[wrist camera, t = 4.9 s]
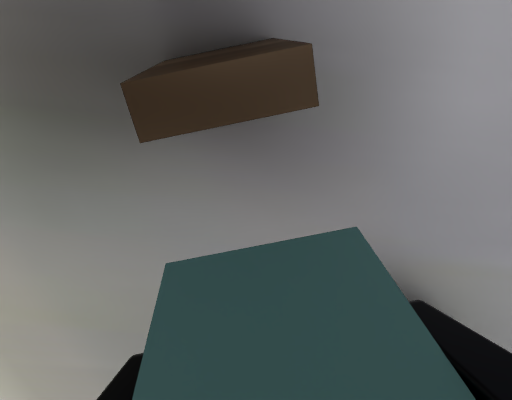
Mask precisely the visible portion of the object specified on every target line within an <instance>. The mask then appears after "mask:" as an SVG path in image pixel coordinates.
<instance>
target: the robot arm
mask: <svg viewBox="0 0 512 400" xmlns="http://www.w3.org/2000/svg"><path fill="white" fill-rule="evenodd" d="M409 303H410V305H411V306H412V308H413V309H414V311H415V312H416V313H417V315H418V316H419V318H420V319H421V321H422V322H423V324H424V325H425V327H426V328H427V329H428V331H429V332H430V334H431V335H432V337H433V338H434V340H435V341H436V343H437V344H438V345H439V347H440V348H441V350H442V352H443V353H444V355H445V356H446V358H447V359H448V360H449V361H450V363H451V364H452V366H453V367H454V369H455V370H456V372H457V373H458V374H459V376H460V377H461V379H462V380H463V382H464V383H465V385H466V386H467V388H468V389H469V390H470V392H471V393H472V395H473V396H474V398H475V399H476V400H512V353H510V352H509V351H507V350H505V349H503V348H502V347H500V346H498V345H497V344H495V343H493V342H492V341H490V340H488V339H486V338H485V337H483V336H481V335H480V334H478V333H476V332H474V331H473V330H471V329H469V328H468V327H466V326H464V325H463V324H461V323H459V322H457V321H456V320H454V319H452V318H451V317H449V316H447V315H445V314H444V313H442V312H440V311H439V310H437V309H435V308H434V307H432V306H430V305H428V304H427V303H425V302H423V301H420V300H415V301H410V302H409ZM143 354H144V353H141V354H136V355H133V356H132V357H130V359H129V360H128V361H127V362H126V363H125V365H124V366H123V367H122V368H121V370H120V371H119V372H118V373H117V375H116V376H115V377H114V378H113V380H112V381H111V382H110V383H109V385H108V386H107V387H106V388H105V390H104V391H103V392H102V393H101V395H100V396H99V397H98V398H97V400H132V398H133V394H134V390H135V386H136V382H137V378H138V374H139V370H140V366H141V362H142V358H143Z"/></svg>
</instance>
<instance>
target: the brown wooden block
mask: <svg viewBox="0 0 512 400" xmlns="http://www.w3.org/2000/svg"><path fill="white" fill-rule="evenodd" d="M120 85H121V88H122V91H123V94H124V97H125V100H126V103H127V106H128V109H129V112H130V115H131V118H132V121H133V124H134V127H135V130H136V133H137V136H138V139H139V142H140V143H143V142H148V141H152V140H157V139H162V138H167V137H172V136H177V135H181V134H186V133H191V132H196V131H201V130H205V129H210V128H215V127H220V126H225V125H230V124H234V123H239V122H244V121H249V120H254V119H259V118H263V117H268V116H273V115H278V114H283V113H288V112H292V111H297V110H302V109H307V108H312V107H316V106H319V102H318V93H317V85H316V76H315V67H314V58H313V49H312V44H311V43H304V42H297V41H290V40H283V39H276V38H271V39H266V40H262V41H257V42H252V43H247V44H242V45H238V46H233V47H228V48H223V49H218V50H214V51H209V52H204V53H199V54H194V55H190V56H185V57H180V58H175V59H170V60H166V61H163V62H161V63H159V64H157V65H155V66H153V67H151V68H149V69H147V70H145V71H143V72H141V73H140V74H138V75H136V76H134V77H132V78H130V79H128V80H126V81H124V82H122V83H120Z"/></svg>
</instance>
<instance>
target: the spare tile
mask: <svg viewBox="0 0 512 400" xmlns="http://www.w3.org/2000/svg"><path fill="white" fill-rule="evenodd" d="M132 400H476V399H475V398H474V396H473V395H472V393H471V392H470V390H469V389H468V388H467V386H466V385H465V383H464V382H463V380H462V379H461V377H460V376H459V374H458V373H457V372H456V370H455V369H454V367H453V366H452V364H451V363H450V361H449V360H448V359H447V358H446V356H445V355H444V353H443V352H442V350H441V348H440V347H439V345H438V344H437V343H436V341H435V340H434V338H433V337H432V335H431V334H430V332H429V331H428V329H427V328H426V327H425V325H424V324H423V322H422V321H421V319H420V318H419V316H418V315H417V313H416V312H415V311H414V309H413V308H412V306H411V305H410V303H409V302H408V300H407V299H406V297H405V296H404V295H403V293H402V292H401V290H400V289H399V287H398V286H397V284H396V283H395V282H394V280H393V279H392V277H391V276H390V274H389V273H388V271H387V270H386V268H385V267H384V266H383V264H382V263H381V261H380V260H379V258H378V257H377V255H376V254H375V252H374V251H373V250H372V248H371V247H370V245H369V244H368V242H367V241H366V239H365V238H364V236H363V235H362V234H361V232H360V231H359V229H358V228H357V227H352V228H347V229H342V230H337V231H332V232H327V233H321V234H316V235H311V236H306V237H301V238H295V239H290V240H285V241H280V242H275V243H270V244H264V245H259V246H254V247H249V248H244V249H239V250H233V251H228V252H223V253H218V254H213V255H207V256H202V257H197V258H192V259H187V260H182V261H176V262H171V263H166V265H165V269H164V273H163V277H162V281H161V285H160V289H159V293H158V297H157V301H156V305H155V309H154V313H153V317H152V321H151V325H150V329H149V334H148V338H147V342H146V346H145V350H144V354H143V358H142V362H141V366H140V370H139V374H138V378H137V382H136V386H135V390H134V394H133V398H132Z"/></svg>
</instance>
